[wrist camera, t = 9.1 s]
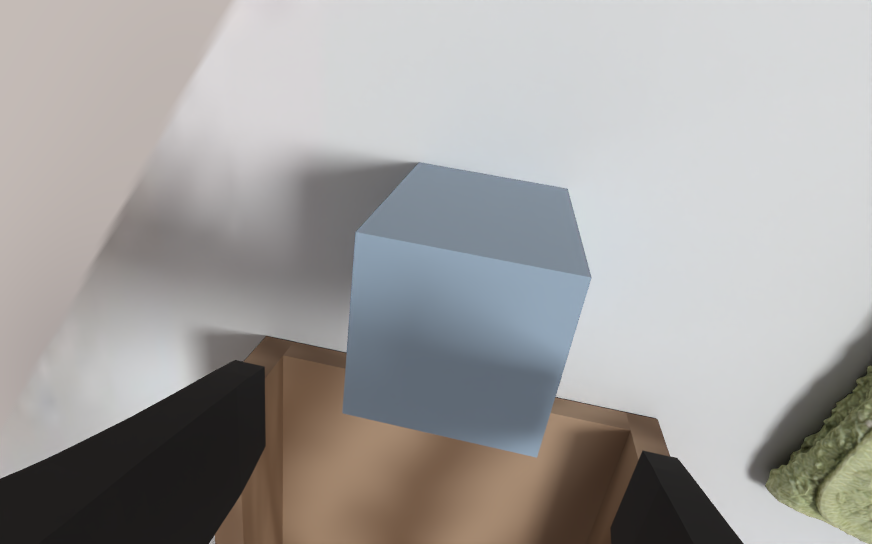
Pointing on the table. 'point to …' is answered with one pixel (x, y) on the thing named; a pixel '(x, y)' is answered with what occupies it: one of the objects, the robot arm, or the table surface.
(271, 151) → the table surface
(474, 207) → the slate block
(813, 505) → the washcloth
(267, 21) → the table surface
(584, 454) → the walnut crate
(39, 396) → the table surface
